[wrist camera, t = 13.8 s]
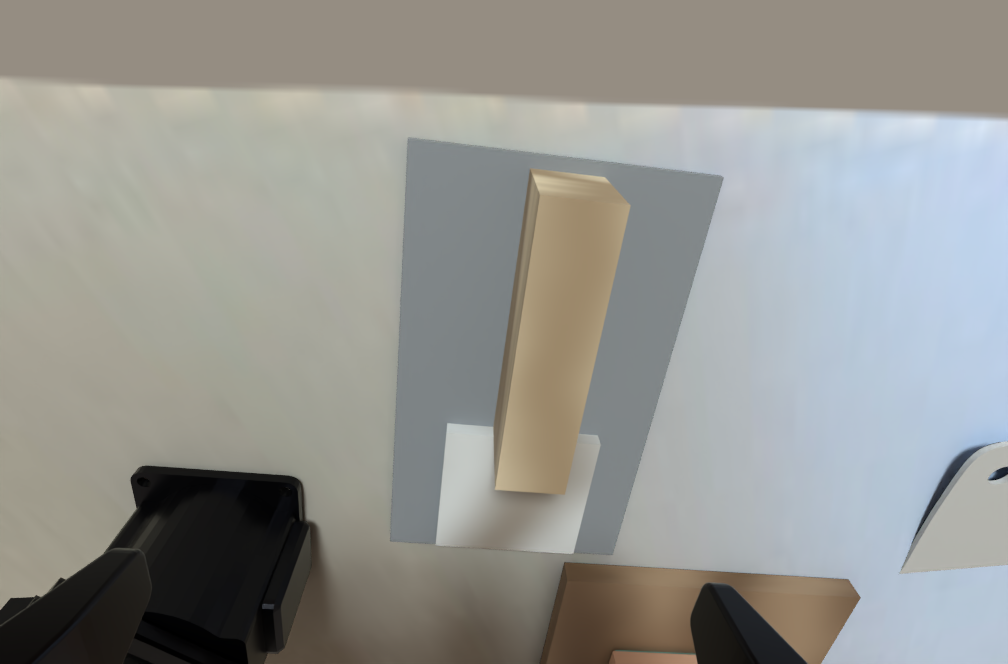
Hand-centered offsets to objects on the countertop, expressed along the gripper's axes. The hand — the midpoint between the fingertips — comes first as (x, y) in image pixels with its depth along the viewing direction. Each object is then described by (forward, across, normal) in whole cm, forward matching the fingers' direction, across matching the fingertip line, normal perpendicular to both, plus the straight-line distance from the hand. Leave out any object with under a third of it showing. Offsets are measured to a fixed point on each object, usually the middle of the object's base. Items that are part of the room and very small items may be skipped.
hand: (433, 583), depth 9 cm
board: (+12, -13, +20) cm, 27 cm away
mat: (+12, -3, +4) cm, 13 cm away
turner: (+12, -3, +3) cm, 13 cm away
